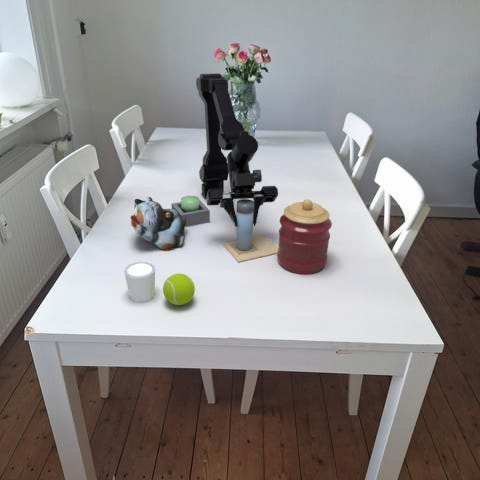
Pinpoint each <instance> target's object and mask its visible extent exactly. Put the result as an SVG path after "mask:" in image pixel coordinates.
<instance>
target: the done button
mask: <svg viewBox="0 0 480 480" xmlns="http://www.w3.org/2000/svg"><path fill="white" fill-rule="evenodd" d="M199 200H200V197H198V196H196V195H186V196H183V197H181V198H180V202H181V210H182V211H183V212H184V213H186V212H192V211H197V210H199Z"/></svg>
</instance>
